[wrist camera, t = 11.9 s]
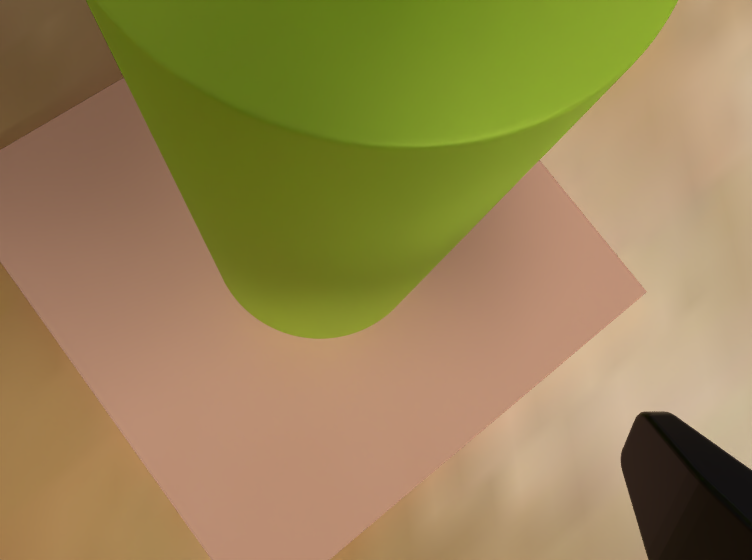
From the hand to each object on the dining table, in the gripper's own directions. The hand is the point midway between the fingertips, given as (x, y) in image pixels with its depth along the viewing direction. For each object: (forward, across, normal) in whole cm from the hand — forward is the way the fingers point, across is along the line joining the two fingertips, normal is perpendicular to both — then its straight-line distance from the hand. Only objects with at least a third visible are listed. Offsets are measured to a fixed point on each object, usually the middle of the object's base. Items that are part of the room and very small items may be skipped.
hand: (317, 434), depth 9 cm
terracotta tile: (+10, 0, +3) cm, 11 cm away
